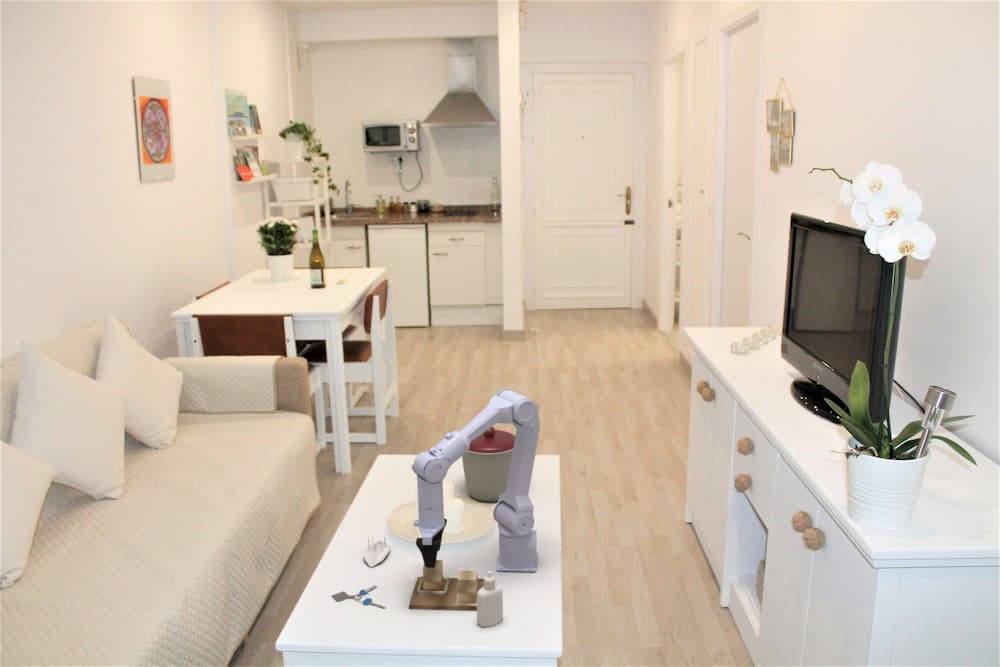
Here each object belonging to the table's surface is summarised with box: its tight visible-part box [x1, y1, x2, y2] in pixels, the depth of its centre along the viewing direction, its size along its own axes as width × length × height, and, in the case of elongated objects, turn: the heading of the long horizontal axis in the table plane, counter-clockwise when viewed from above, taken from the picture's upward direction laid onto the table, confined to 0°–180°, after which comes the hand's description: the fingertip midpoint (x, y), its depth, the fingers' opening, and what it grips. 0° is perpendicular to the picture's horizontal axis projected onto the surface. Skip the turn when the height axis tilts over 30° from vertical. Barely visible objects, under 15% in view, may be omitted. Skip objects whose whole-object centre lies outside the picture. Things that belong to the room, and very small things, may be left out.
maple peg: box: [422, 559, 444, 591], centre depth 193 cm, size 4×4×6 cm
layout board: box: [408, 569, 484, 612], centre depth 191 cm, size 16×12×7 cm
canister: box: [461, 426, 516, 503], centre depth 243 cm, size 18×18×21 cm
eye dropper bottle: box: [476, 570, 504, 628], centre depth 180 cm, size 4×6×12 cm
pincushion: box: [363, 535, 391, 568], centre depth 210 cm, size 12×6×6 cm, turn 174°
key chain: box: [331, 584, 386, 609], centre depth 193 cm, size 14×8×1 cm, turn 75°
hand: (432, 558), depth 192 cm, fingers open, 7 cm apart
